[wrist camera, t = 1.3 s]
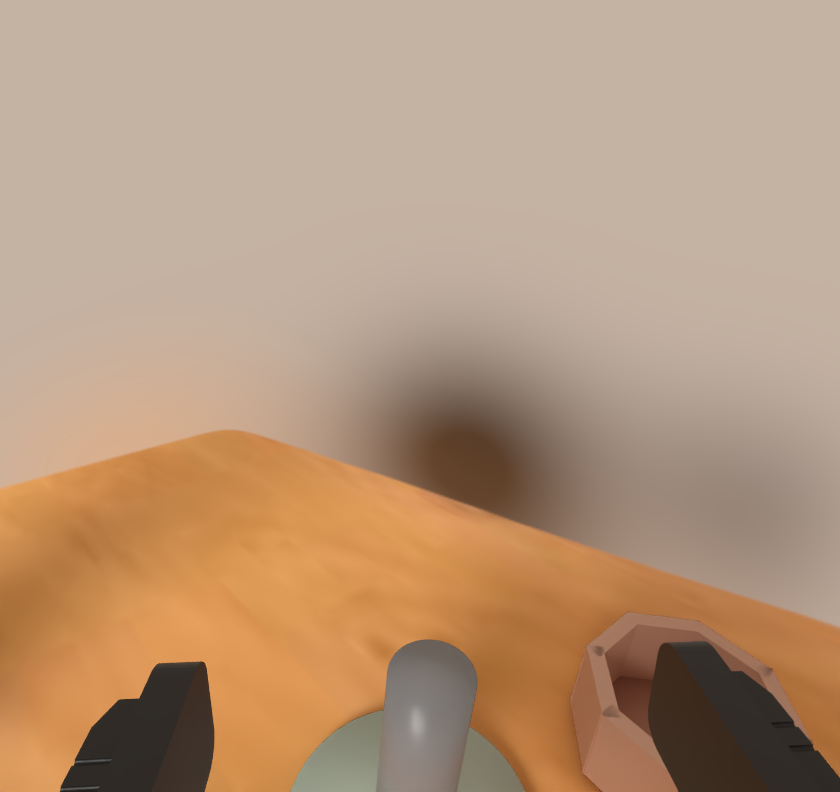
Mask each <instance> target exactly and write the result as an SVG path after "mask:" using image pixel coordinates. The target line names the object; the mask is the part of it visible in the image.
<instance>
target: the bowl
mask: <svg viewBox="0 0 840 792" xmlns="http://www.w3.org/2000/svg"><path fill="white" fill-rule="evenodd" d="M691 641H706V642H708V643H710V644H711V645H712V646H713V647H714V649H715V650H716V651H717V652H718V654H719V655H720V656H721V658H722V659H723V660H724V662H725V663H726V664H727V666H728V667H729V668H730V670H731V671H743V672H744V673H745V674H747V675H748V676H749V677H751V678H752V679H753V680H755V681H756V682H757V683H759V684H760V685H761V686H762V687H764V688H765V689H766V690H768V691H769V692H770V693H772V694H773V696H774V697H775V698H776V699H777V701H778V702H779V703H780V704H781V706H782V707H783V708H784V709H785V711H786V712H787V713H788V714H789V715H790V717H791V718H792V719H793V720H794V724H795V726H796V727H799V728H800V729H801V730H802V732H803V733H804V734H805V735H806V737H807V738H808V739H809V740H810V742H811V743H812V744H813V741H812V740H811V739H810V737H809V735H808V733H807V731H806V729H805V728H804V726H803V724H802V722H801V720H800V719H799V717H798V715H797V713H796V711H795V710H794V708H793V706H792V704H791V702H790V700H789V699H788V697H787V695H786V693H785V691H784V690H783V688H782V686H781V684H780V682H779V681H778V679H777V677H776V675H775V673H774V671H773V669H772V668H770V667H768V666H767V665H765V664H764V663H762V662H760V661H759V660H757V659H756V658H754V657H753V656H751V655H750V654H748V653H747V652H745V651H744V650H742V649H741V648H739V647H738V646H736V645H735V644H733V643H732V642H730V641H729V640H727V639H725V638H724V637H722V636H721V635H719V634H718V633H716V632H715V631H713V630H712V629H710V628H709V627H707V626H706V625H704V624H703V623H701V622H700V621H698V620H697V621H696V620H688V619H680V618H672V617H664V616H656V615H648V614H640V613H632V612H626V614H625V615H624V616H622V617H621V618H620V619H619V620H618V621H616V622H615V623H614V624H613V625H611V626H610V627H609V628H608V629H607V630H605V631H604V632H603V633H602V634H601V635H599V636H598V637H597V638H596V639H594V640H593V641H592V642H591V643H590V644H588V645H586V649H585V652H584V655H583V659H582V662H581V665H580V669H579V672H578V676H577V679H576V682H575V686H574V689H573V693H572V696H571V699H570V703H571V708H572V713H573V719H574V725H575V731H576V736H577V742H578V748H579V754H580V759H581V765H582V772H583V774H585V775H586V776H587V777H588V778H589V779H590V780H591V781H592V782H593V783H594V784H595V785H596V786H597V787H598V788H599V789H600V790H601V791H602V792H678V790H677V788H676V786H675V784H674V782H673V780H672V778H671V776H670V774H669V772H668V770H667V768H666V766H665V764H664V763H663V761H662V759H661V757H660V755H659V753H658V751H657V749H656V747H655V744H654V742H653V739H652V736H651V732H650V728H649V721H648V705H649V700H650V694H651V689H652V683H653V678H654V672H655V667H656V661H657V656H658V651H659V648H660V646H661V645H662V644H663V643H669V642H691Z"/></svg>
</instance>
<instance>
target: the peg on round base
mask: <svg viewBox="0 0 840 792" xmlns="http://www.w3.org/2000/svg"><path fill="white" fill-rule="evenodd" d="M476 690H477V675H476V671H475V669H474V666H473V664H472V663H471V661H470V660H469V658H468V657H467V656H466V655H465V654H464V653H463V652H462V651H460V650H459V649H458V648H456V647H454V646H452V645H450V644H448V643H446V642H442V641H438V640H419V641H415V642H412V643H409V644H407V645H405V646H403V647H402V648H401V649H399V650H398V651H397V652H396V653H395V655H394V656H393V657H392V659H391V661H390V663H389V666H388V671H387V682H386V692H385V702H384V710H381V711H377V712H374V713H370V714H367V715H364V716H362V717H360V718H357V719H355V720H353V721H351V722H349V723H348V724H346V725H344V726H342V727H341V728H339V729H338V730H337V731H335V732H334V733H333V734H331V735H330V736H329V737H328V738H327V739H326V740H325V741H323V742H322V743H321V744H320V745H319V746H318V747H317V748H316V750H315V751H314V752H313V753H312V755H311V756H310V757H309V758H308V760H307V761H306V763H305V764H304V766H303V767H302V769H301V771H300V772H299V774H298V776H297V778H296V780H295V782H294V784H293V787H292V789H291V791H290V792H525V789H524V787H523V786H522V784H521V782H520V780H519V778H518V776H517V774H516V773H515V771H514V770H513V768H512V767H511V765H510V764H509V763H508V761H507V760H506V759H505V757H504V756H503V755H502V754H501V753H500V752H499V750H498V749H497V748H496V747H495V746H494V745H493V744H491V743H490V742H489V741H488V740H487V739H486V738H485V737H484V736H482V735H481V734H480V733H478V732H477V731H476V730H474V729H473V728H471V727H469V726H470V721H471V716H472V711H473V705H474V700H475V695H476Z"/></svg>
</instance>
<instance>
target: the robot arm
mask: <svg viewBox="0 0 840 792" xmlns="http://www.w3.org/2000/svg"><path fill="white" fill-rule="evenodd" d="M648 721H649V728H650V732H651V736H652V739H653V742H654V744H655V747H656V749H657V751H658V753H659V755H660V757H661V759H662V761H663V763H664V764H665V766H666V768H667V770H668V772H669V774H670V776H671V778H672V780H673V782H674V784H675V786H676V788H677V790H678V792H840V778H839V776H838V775H837V774H836V773H835V771H834V770H833V769H832V768H831V766H830V765H829V764H828V763H827V762H826V760H825V759H824V758H823V757H822V755H821V754H820V753H819V752H818V751H815V750H814V749H813V744H812V743H811V742H810V740H809V739H808V738H807V737H806V735H805V734H804V733H803V732H802V730H801V729H800V728H799V727H796V726H795V724H794V720H793V719H792V718H791V717H790V715H789V714H788V713H787V712H786V711H785V709H784V708H783V707H782V706H781V704H780V703H779V702H778V701H777V699H776V698H775V697H774V696H773V694H772V693H770V692H769V691H768V690H766V689H765V688H764V687H762V686H761V685H760V684H759V683H757V682H756V681H755V680H753V679H752V678H751V677H749V676H748V675H747V674H745V673H744V672H743V671H731V670H730V668H729V667H728V666H727V664H726V663H725V662H724V660H723V659H722V658H721V656H720V655H719V654H718V652H717V651H716V650H715V649H714V647H713V646H712V645H711V644H710V643H708V642H706V641H691V642H669V643H663V644H662V645H661V646H660V648H659V651H658V656H657V661H656V667H655V672H654V678H653V683H652V689H651V694H650V700H649V705H648ZM213 751H214V724H213V716H212V708H211V700H210V692H209V683H208V675H207V668H206V665H205V663H204V662H181V663H159V664H157V665H156V666H155V667H154V668H153V670H152V672H151V674H150V676H149V679H148V681H147V683H146V685H145V687H144V690H143V692H142V694H141V696H140V698H139V699H121V700H118V701H117V702H116V703H115V704H114V705H113V706H112V707H111V708H110V709H109V710H108V711H107V712H106V713H105V714H104V715H103V716H102V717H101V718H100V719H99V721H98V722H97V723H96V724H95V725H94V726H93V727H92V728H91V730H90V732H89V734H88V735H87V737H86V739H85V741H84V743H83V745H82V747H81V749H80V751H79V753H78V755H77V757H76V758H75V764H74V766H71V768H70V770H69V772H68V774H67V776H66V778H65V779H64V781H63V783H62V785H61V790H60V792H205V788H206V784H207V781H208V777H209V773H210V769H211V765H212V759H213Z"/></svg>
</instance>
